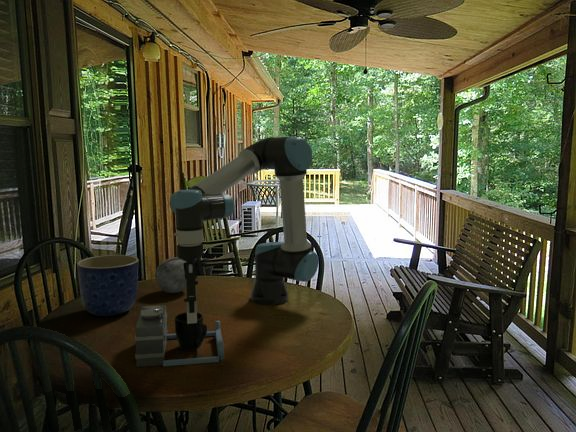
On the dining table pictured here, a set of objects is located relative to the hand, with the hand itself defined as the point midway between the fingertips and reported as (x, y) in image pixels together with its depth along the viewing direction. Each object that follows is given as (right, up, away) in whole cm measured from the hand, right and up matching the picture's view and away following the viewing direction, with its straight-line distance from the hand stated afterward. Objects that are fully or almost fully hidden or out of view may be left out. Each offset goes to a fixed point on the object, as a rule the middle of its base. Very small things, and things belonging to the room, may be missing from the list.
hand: (192, 314), depth 131 cm
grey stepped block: (-11, -11, -1) cm, 16 cm away
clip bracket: (0, -11, +1) cm, 11 cm away
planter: (-37, -6, +32) cm, 49 cm away
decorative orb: (-19, -3, +56) cm, 59 cm away
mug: (0, -11, +1) cm, 11 cm away
